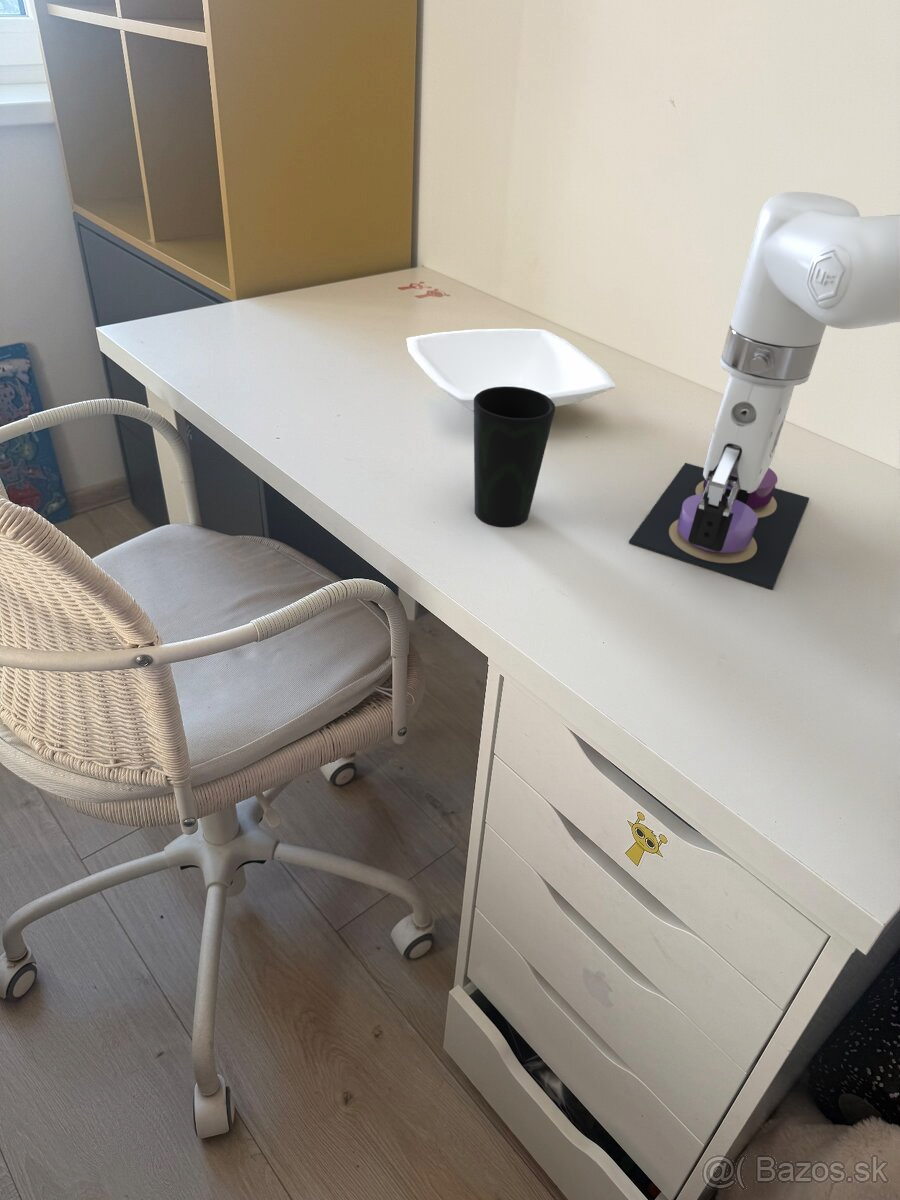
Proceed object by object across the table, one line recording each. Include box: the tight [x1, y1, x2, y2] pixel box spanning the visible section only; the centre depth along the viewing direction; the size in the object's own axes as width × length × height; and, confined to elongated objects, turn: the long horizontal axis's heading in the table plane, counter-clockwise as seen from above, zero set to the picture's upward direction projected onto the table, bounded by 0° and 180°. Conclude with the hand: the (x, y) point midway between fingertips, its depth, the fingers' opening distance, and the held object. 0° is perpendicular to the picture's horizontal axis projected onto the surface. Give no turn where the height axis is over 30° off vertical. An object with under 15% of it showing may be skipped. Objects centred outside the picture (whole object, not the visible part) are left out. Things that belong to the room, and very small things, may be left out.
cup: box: [473, 387, 556, 528], centre depth 81 cm, size 8×8×12 cm
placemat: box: [628, 462, 810, 591], centre depth 86 cm, size 14×20×1 cm
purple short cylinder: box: [703, 467, 779, 509], centre depth 89 cm, size 7×7×3 cm
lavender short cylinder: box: [677, 494, 758, 553], centre depth 82 cm, size 7×7×3 cm
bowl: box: [406, 328, 616, 412], centre depth 105 cm, size 22×23×6 cm
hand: (717, 523), depth 81 cm, fingers open, 9 cm apart
